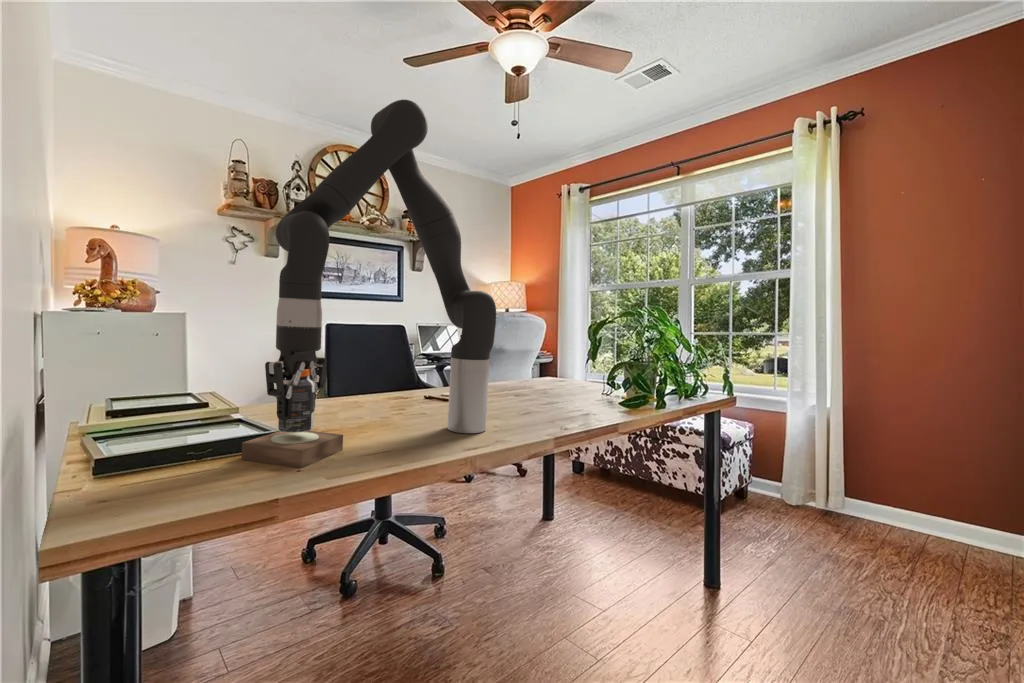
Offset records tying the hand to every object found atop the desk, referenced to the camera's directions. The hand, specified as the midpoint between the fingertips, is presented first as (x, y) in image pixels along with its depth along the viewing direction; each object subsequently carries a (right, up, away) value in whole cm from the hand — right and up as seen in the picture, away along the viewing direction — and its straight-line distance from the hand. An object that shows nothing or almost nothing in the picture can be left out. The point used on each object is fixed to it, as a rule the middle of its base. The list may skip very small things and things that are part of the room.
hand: (296, 415), depth 87 cm
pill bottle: (0, -3, 0) cm, 3 cm away
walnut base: (0, -7, 0) cm, 7 cm away
